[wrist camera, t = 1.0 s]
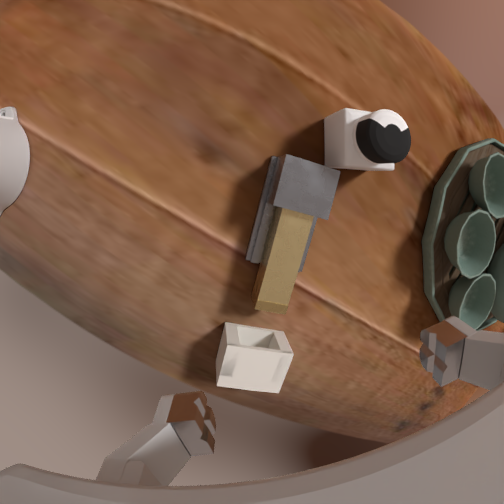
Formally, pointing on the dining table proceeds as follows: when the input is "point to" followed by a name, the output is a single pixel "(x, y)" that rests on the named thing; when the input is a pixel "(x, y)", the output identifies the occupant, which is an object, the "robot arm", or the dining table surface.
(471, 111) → the dining table surface
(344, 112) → the medicine bottle
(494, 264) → the tea set
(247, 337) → the socket
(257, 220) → the sleeve
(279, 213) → the olive rectangular bar
